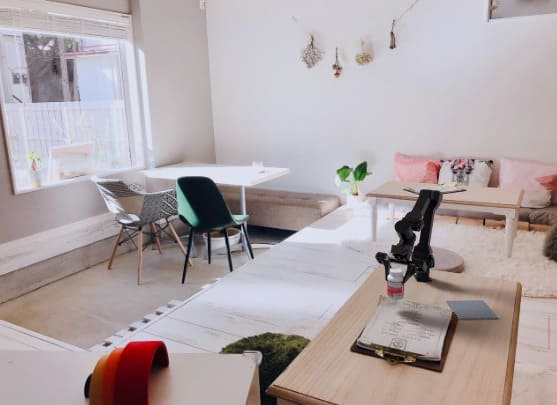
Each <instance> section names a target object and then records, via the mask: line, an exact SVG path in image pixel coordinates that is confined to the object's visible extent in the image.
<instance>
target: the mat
mask: <svg viewBox="0 0 557 405" xmlns="http://www.w3.org/2000/svg"><path fill="white" fill-rule="evenodd" d="M446 304H447V305H448V307H449V308H450V310H453V311H454V312H455V313H454V312H453V311H452V312H453V313H454V315H455V314H456V315H457V316H456V315H455V316H456V318H457V317H458V318H457V319H458V320H459V321H460V320H465V321H466V320H469V321H470V320H471V321H473V320H499V316H498V315H497V314H496V313H495V312H494V310H492V309H491V307H490V306H489V304H487V303H486V301H484V300H483V299H481V300H480V299H479V300H477V299H476V300H475V299H474V300H466V299H465V300H446Z"/></svg>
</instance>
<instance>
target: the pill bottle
mask: <svg viewBox="0 0 557 405" xmlns="http://www.w3.org/2000/svg"><path fill="white" fill-rule="evenodd" d="M404 276H405V275H403V269H402V268H400V267H392V268H391V269H390V274H389V275H388V277H387V281H386V283H387V284H386V296H387V299H389V300H392V301H401V300H403V299H404V296H405V284H404V285H403V284H402V282H403V278H404Z"/></svg>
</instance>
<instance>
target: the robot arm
mask: <svg viewBox="0 0 557 405" xmlns="http://www.w3.org/2000/svg"><path fill="white" fill-rule="evenodd" d="M443 198H444V194H443V193H442V191H440V190H438V189H428V188H427V189H426V188H424V189H423V188H422V189H420V190H419V193H418V197H417V199H416V201H415V204H414V205H413V207H412V209H411V211H410V210H409V212H407V213H406V214H405V215H404V216H402V218H401V219H399V220H397V221H396V222H395V223H394V227H393V228H394V230H395V232H396V234H397V237H398V238H399V241H398V243H396V244H391V249H390V252H389V253H390V254H391V255H392V256H389V255H388V252H381V251H377V252H376V253H375V256H374V259H375V260H376V262H377V263H378V264H380V265H383V267H384V276H385V277H384V280H385V282H387V277H388V275H389V274H390V269H391V268H393V267H392V264H391V263H393V264H397V265H402V266H403V265H404V266H406V270H405V273H404V275H403V276H404V278H403V282H402V284H403V285H404V286H405V284H406V283H407V282H408V281H409V280H410V279H411V278H412V277H413V278H414V279H415V280H416V282H432V281H433V279H432V278H431V276H430V274H431V273H430V272H431V269H432V268H435V267H436V260H435V256H434V255H433V254H434V253H433V252H434V251H433V249H432V246H431V239H432V234H433V227H434V221H435V214H436V211H437V210H438V209H439V208H440V206H441V203H442V201H443V200H444V199H443ZM415 232H420V233H419V240H418V242H417V243H416V244H415V242H416V241H417V234H416V233H415ZM410 259H411V260H410Z"/></svg>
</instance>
